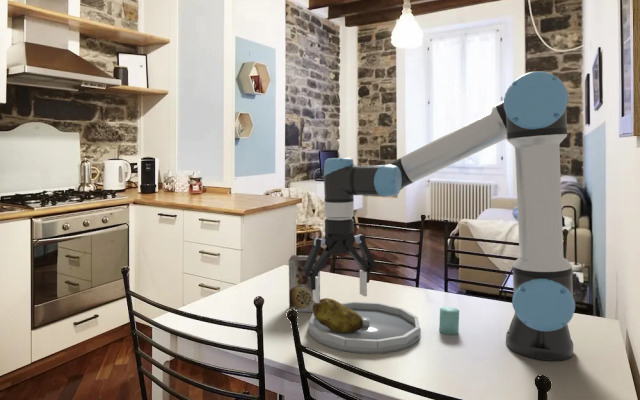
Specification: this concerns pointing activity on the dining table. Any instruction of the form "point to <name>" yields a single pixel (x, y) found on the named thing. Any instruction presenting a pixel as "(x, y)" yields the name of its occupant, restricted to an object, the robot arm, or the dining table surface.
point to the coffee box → (300, 285)
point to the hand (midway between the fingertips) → (340, 298)
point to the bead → (449, 320)
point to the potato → (337, 316)
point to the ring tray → (371, 330)
